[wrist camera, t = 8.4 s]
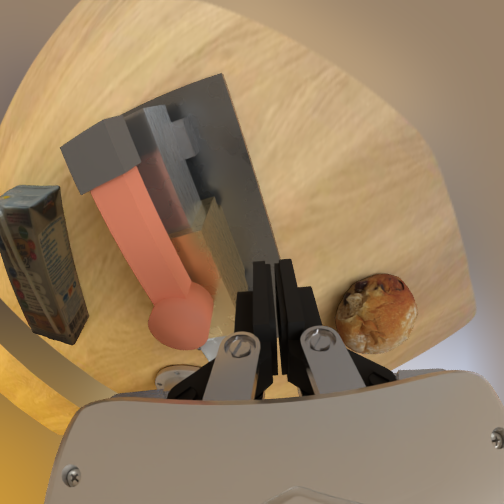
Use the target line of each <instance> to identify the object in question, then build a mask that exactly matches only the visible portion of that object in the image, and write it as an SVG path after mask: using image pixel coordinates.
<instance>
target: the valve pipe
mask: <svg viewBox="0 0 504 504" xmlns="http://www.w3.org/2000/svg"><path fill="white" fill-rule="evenodd" d="M122 115H123V117H124V120H125V122H126V125H127V127H128V130H129V133H130V135H131V138H132V140H133V142H134V145H135V147H136V150H137V152H138V155H139V157H140V159H141V163H139V164H138V165H136V166H137V169H138V171H139V173H140V176H141V178H142V180H143V182H144V185H145V187H146V189H147V191H148V194H149V196H150V198H151V200H152V202H153V204H154V207H155V209H156V211H157V213H158V215H159V217H160V219H161V222H162V224H163V226H164V228H165V230H166V232H167V234H168V236H169V238H170V240H171V242H172V244H173V246H174V248H175V250H176V252H177V254H178V256H179V258H180V260H181V262H182V264H183V266H184V268H185V270H186V272H187V274H188V275H189V277H190V279H191V281H192V282H195V283H197V284H199V285H201V286H202V287H204V288H205V289H206V290H207V291H208V292H209V293H210V295H211V297H212V299H213V303H214V307H213V313H212V319H211V324H210V330H209V336H208V340H207V342H206V343H205V344H204V345H203V346H201V347H199V348H197V349H198V350H202V352H203V353H204V355H205V356H206V358H207V359H208V361H209V362H210V361H211V360H213V359H214V358H216V355H217V352H218V349H219V346H220V343H221V342H222V340H223V339H224V338H225V337H226V336H228V335H230V334H231V333H234V324H235V311H236V297H237V292H242V291H253V262H254V261H265V264H270V266H271V276H272V286H273V296H274V307H275V317H276V334H277V338H278V337H279V335H278V325H277V314H276V293H275V272H274V263H279V260H281V259H280V255H279V252H278V248H277V245H276V241H275V238H274V234H273V231H272V227H271V224H270V221H269V217H268V214H267V211H266V207H265V204H264V201H263V197H262V194H261V191H260V187H259V184H258V181H257V177H256V174H255V171H254V168H253V165H252V161H251V158H250V155H249V152H248V149H247V145H246V142H245V139H244V136H243V133H242V130H241V127H240V123H239V120H238V117H237V114H236V111H235V108H234V105H233V102H232V99H231V96H230V93H229V90H228V87H227V84H226V81H225V78H224V75H223V74H222V73H220V74H217V75H214V76H211V77H208V78H205V79H203V80H200V81H197V82H194V83H192V84H189V85H186V86H184V87H181V88H179V89H176V90H174V91H171V92H169V93H166V94H164V95H162V96H159V97H157V98H155V99H153V100H150V101H148V102H146V103H144V104H142V105H140V106H138V107H136V108H134V109H132V110H130V111H128V112H126V113H124V114H122Z"/></svg>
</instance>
